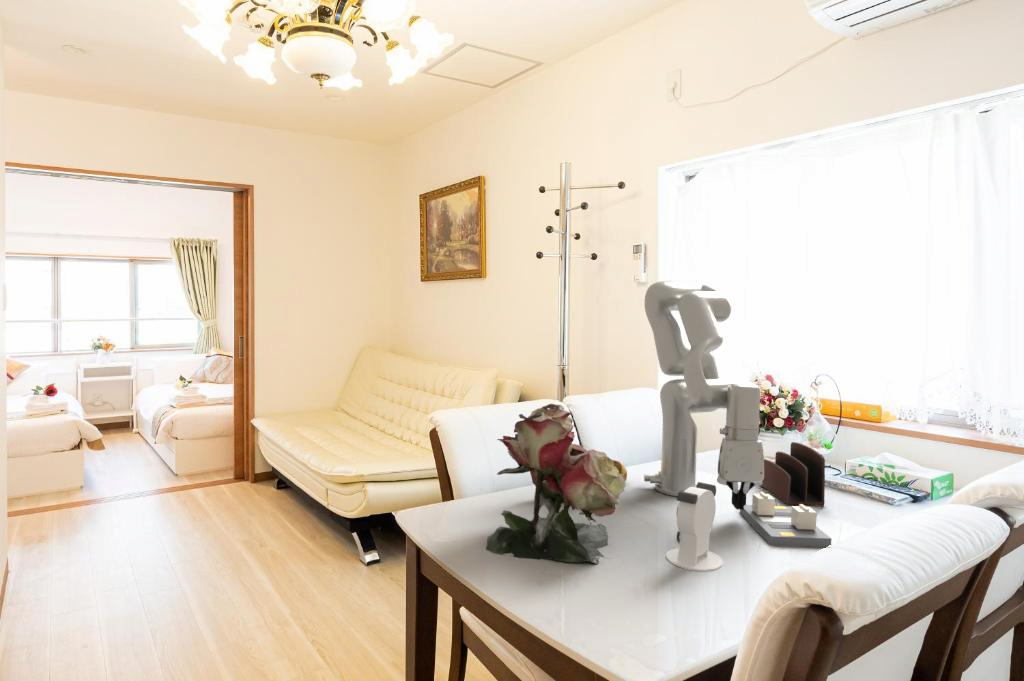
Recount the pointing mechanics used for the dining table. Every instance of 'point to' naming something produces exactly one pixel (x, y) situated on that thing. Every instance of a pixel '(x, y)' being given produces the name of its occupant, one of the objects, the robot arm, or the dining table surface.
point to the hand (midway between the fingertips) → (738, 507)
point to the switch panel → (784, 528)
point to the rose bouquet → (558, 491)
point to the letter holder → (796, 476)
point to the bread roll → (620, 468)
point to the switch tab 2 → (803, 517)
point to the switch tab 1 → (763, 504)
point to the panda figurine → (695, 529)
